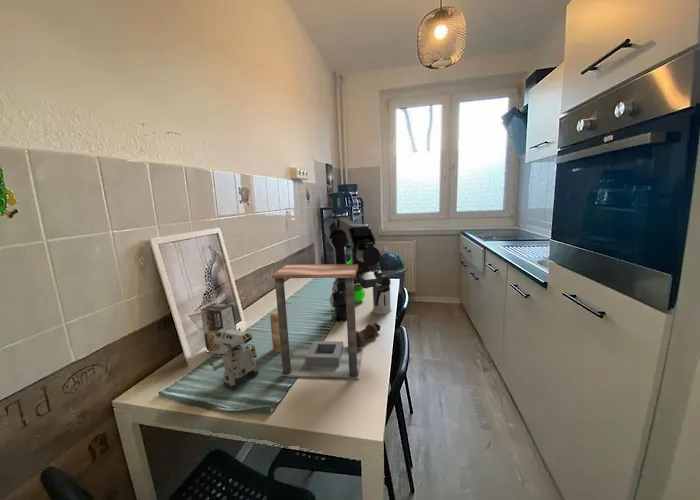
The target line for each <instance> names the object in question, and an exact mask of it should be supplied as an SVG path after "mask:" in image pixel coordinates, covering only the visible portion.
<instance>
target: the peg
mask: <svg viewBox="0 0 700 500" xmlns="http://www.w3.org/2000/svg"><path fill="white" fill-rule="evenodd" d="M269 320H270V328H271V329H270V331H271V342H272V343H271V344H272V350H273V352H274V353H277V352H279V353H281V344H280V333H279V321H278V311H274V312H272V313H270V314H269Z"/></svg>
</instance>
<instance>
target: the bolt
mask: <svg viewBox="0 0 700 500" xmlns="http://www.w3.org/2000/svg"><path fill="white" fill-rule="evenodd" d="M380 331H381V325H380V324H378V323H376V322H375V323H368V324H367V325H366V326H365V328H363V329H362V330H359V331H358V330H356V347H363V344H364V342H365V340H366V339H368V338H375V337H376V336H377V334H378V332H380Z"/></svg>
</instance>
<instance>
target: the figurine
mask: <svg viewBox="0 0 700 500" xmlns="http://www.w3.org/2000/svg"><path fill="white" fill-rule="evenodd" d="M252 340H253V335H252V334H251V333H249V332H246V331H241V328H238V330H237V329H236V330H232V329H227V328H222V329H220V330H218V331H217V333H216V335H215V337H214V339H213V342H214V344H219V345H223V346H228V347H227V349H228V350H227V351H226V352H224V353H223V355H221V358H222V362H220V363H219V364H217V365H215V364H214V363H213V362H212V361H211V360H210V361H209V366H211V367H212V370H213V372H215V371H217V370H219V369H222V368H224V372H223V386H224V387H225V386H226V389H229V390H231V389H232V390H231V391H233V390H235V389H236V388H238V387H237V384H236V382H235V381H236V380H235V379H237V378H241V377H243V376H245V375H247V374H249V373H250V374H251V375H252V374H253V375H252V376H254V375H255V376H257V375H259V370H258V365H257V362H256V358H257V357H258V355H257V352H256V347H255V346H254V345H253V344H251V343H250V342H251V341H252ZM246 344H247V345H246ZM248 372H249V373H248Z"/></svg>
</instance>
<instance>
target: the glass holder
mask: <svg viewBox="0 0 700 500" xmlns="http://www.w3.org/2000/svg"><path fill="white" fill-rule="evenodd" d="M386 286H387V287H386V288H384V289H383V290H382V292H381V294H380V297H379V301H378V304H377V306H375V303H374V293H373V292H372V305H373V307H372V312H373V313H374V314H377V315H386V314H387V315H388V314H390V313H391V312H392V311H393V310H392V309H391V308H392V307H391V287H390V286H391V284H390V285H386Z"/></svg>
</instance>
